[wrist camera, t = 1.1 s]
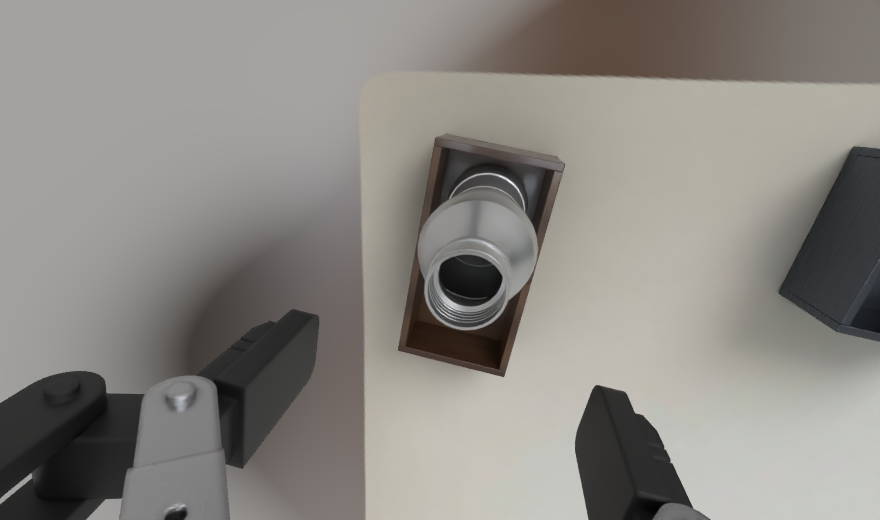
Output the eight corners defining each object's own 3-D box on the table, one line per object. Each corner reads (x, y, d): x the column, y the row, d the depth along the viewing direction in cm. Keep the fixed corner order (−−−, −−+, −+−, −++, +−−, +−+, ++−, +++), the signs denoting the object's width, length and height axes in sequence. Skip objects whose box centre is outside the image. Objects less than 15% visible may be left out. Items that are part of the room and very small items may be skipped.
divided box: (445, 133, 36) (435, 137, 31) (557, 156, 35) (565, 163, 30) (411, 322, 42) (397, 350, 37) (504, 345, 41) (504, 377, 36)
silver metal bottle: (434, 205, 37) (360, 298, 19) (486, 144, 35) (459, 180, 16) (489, 252, 38) (470, 387, 19) (543, 195, 36) (581, 286, 17)
